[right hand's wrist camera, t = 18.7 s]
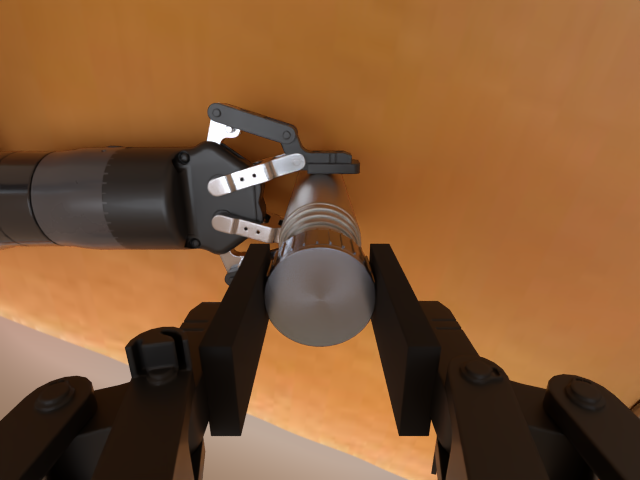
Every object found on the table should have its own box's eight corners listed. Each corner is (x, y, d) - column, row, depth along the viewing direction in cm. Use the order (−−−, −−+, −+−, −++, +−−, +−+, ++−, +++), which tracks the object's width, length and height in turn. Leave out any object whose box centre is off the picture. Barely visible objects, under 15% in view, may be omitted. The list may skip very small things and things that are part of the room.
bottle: (329, 150, 32) (344, 218, 12) (350, 190, 33) (394, 311, 14) (288, 172, 33) (241, 271, 13) (311, 211, 34) (299, 354, 14)
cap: (305, 335, 16) (303, 365, 14) (248, 262, 14) (237, 284, 13) (389, 289, 15) (398, 314, 13) (336, 207, 14) (338, 223, 12)
